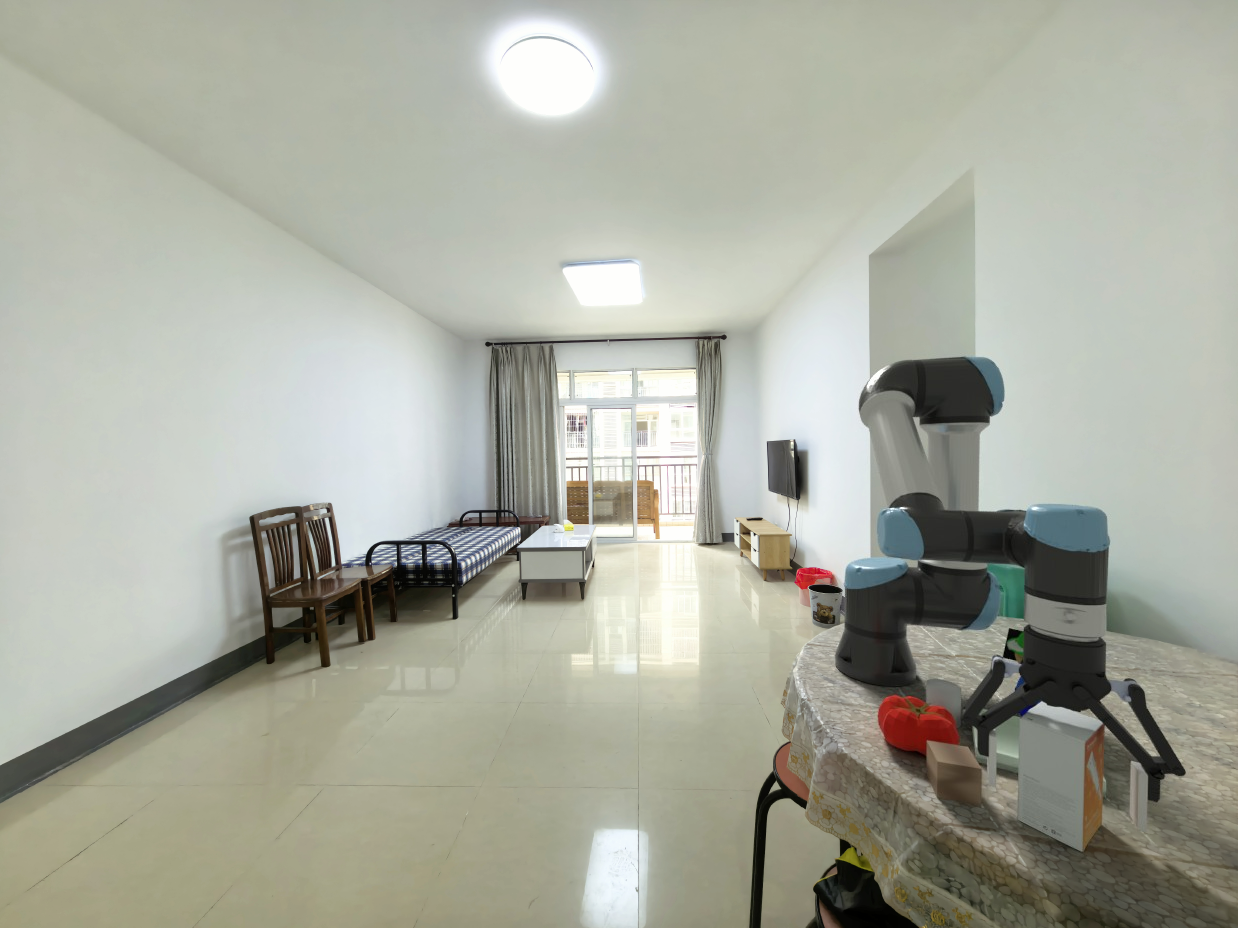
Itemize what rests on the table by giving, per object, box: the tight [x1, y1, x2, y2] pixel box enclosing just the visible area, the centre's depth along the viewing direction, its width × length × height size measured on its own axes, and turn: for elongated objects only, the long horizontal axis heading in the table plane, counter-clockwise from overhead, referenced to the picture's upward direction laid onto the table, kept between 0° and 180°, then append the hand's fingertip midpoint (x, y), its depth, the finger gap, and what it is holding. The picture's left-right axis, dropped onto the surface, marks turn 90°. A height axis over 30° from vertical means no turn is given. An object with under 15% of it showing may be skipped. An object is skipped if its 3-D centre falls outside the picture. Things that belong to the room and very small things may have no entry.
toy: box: [1002, 627, 1067, 717], centre depth 85 cm, size 9×9×15 cm
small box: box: [1016, 701, 1106, 853], centre depth 60 cm, size 8×6×13 cm
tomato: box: [877, 694, 960, 757], centre depth 76 cm, size 10×11×6 cm
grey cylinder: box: [925, 678, 962, 728], centre depth 84 cm, size 5×5×6 cm
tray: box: [970, 708, 1107, 799], centre depth 75 cm, size 14×14×2 cm
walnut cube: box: [925, 740, 983, 807], centre depth 67 cm, size 5×5×5 cm
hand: (1060, 800), depth 61 cm, fingers open, 13 cm apart
